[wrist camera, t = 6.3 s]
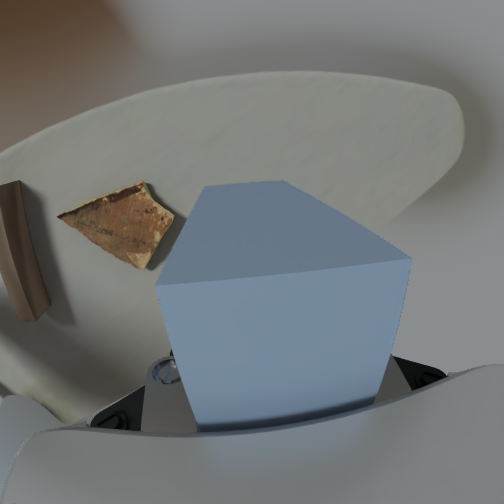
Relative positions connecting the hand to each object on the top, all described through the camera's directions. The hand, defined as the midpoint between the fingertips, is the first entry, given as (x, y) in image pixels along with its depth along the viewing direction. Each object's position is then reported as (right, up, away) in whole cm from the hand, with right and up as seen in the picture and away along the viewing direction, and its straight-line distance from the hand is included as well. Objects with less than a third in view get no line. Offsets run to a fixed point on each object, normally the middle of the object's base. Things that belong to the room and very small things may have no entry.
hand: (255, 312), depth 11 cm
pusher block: (0, 0, +1) cm, 1 cm away
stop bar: (-26, +3, +12) cm, 29 cm away
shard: (-13, +5, +14) cm, 20 cm away
